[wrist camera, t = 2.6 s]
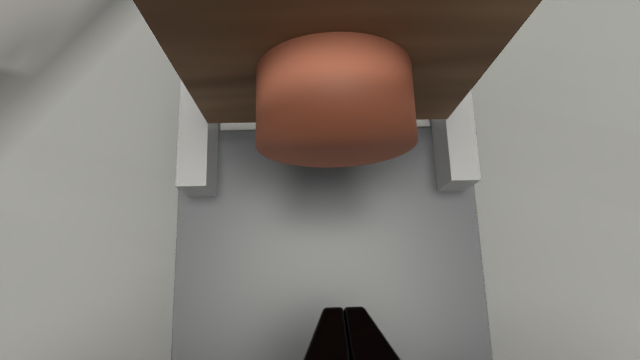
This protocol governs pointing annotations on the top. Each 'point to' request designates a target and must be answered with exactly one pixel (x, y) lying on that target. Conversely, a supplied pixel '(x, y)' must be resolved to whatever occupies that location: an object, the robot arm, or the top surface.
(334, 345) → the robot arm
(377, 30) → the press plate
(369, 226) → the press base
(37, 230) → the top surface
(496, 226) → the top surface
